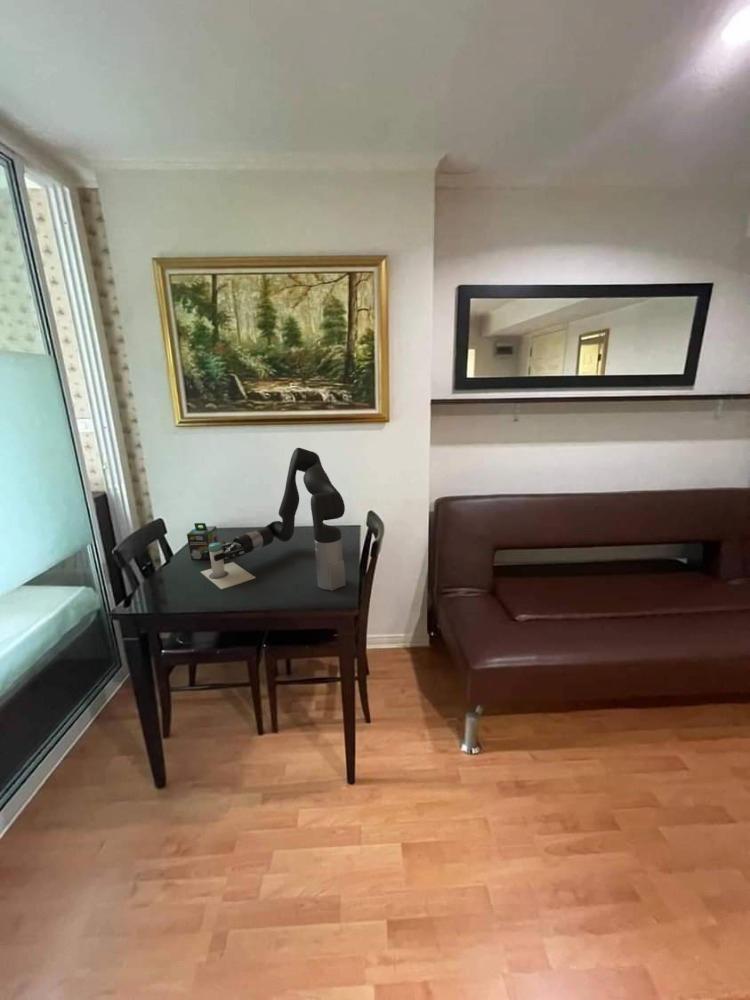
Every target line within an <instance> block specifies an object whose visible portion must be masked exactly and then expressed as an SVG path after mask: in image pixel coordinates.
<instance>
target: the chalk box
mask: <svg viewBox="0 0 750 1000" xmlns="http://www.w3.org/2000/svg"><path fill="white" fill-rule="evenodd" d="M186 536H187V537H186V538H187V544H188V549H189V555H190V559H191V560H211V559H210V556H209V557H205V554H204V552H205V551H208V550H209V545H210V544H212V543H220V541H219V535H218V529H217V526H215V525H214V526H213V525H211V526H207V524H206V523H205V522H194V529H191V530H190V531H189V532H188V533H187V534H186Z"/></svg>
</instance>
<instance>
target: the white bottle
mask: <svg viewBox="0 0 750 1000" xmlns="http://www.w3.org/2000/svg"><path fill="white" fill-rule="evenodd" d="M209 551H210V559H209V560H210V565H211V568H212V573H213V576H214V577H221V576H223V575H225V568H224V565H225V561H224V559H221V560H219V561H215V560H214V555H217V554H220V553H222V551H223V549H222V546H221V542H219V543H212V544H210V545H209Z"/></svg>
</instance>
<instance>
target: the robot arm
mask: <svg viewBox="0 0 750 1000" xmlns="http://www.w3.org/2000/svg"><path fill="white" fill-rule="evenodd" d="M289 461H290V462H289V466H288V470H287V477H286V481H285V489H284V493H283V496H282V500H281V503H280V506H279V509H278V515H279V517H280V518H281V521H280V520H275V521H272V522H270V523H269V524H267V525H266V526H264V527H263V528H261V529H258V530H255V531H250V532H247V533H244V534H240V535H238V536H235V537H234V539H232V540H233V541H232V542H227V543H226V541H221V542H220V543H221V546H222V553H220V554H217V555H214V560H215V561H219V560H221V559H223V560H224V559H229V560H233V559H236V558H239V557H240V558H241V557H243V556H245V555H247V554H250V553H252V552H254V551H257V550H259V549H261V548H263V547H267V546H269V545H270V544H272V543H273V541H274V538H275V539H278V540H279V541H281V542H282V543H283V542H284V543H286V542H289V541H290V540H291V539H292V537H293V536H294V531H295V520H296V519H295V518H296V514H297V511H298V508H299V504H300V494H299V490H298V485H297V481H296V478H297V477H296V476H297V472H298V471H299V472H302V473H304V474H303V477H302V478H303V480H302V481H303V483H304V486H305V488H306V490H307V492H308V493H309V494H311V498H310V510H311V517H312V524H313V525H312V526H313V539H314V553H315V564H316V565H315V567H316V577H317V578H316V579H317V586H318V588H319V589H321V590H325V591H326V590H328V591H331V592H333V591H335V590H337V589H340V588H342V587H345V586H346V571H345V569H346V568H345V561H344V559H343V543H342V542H343V541H342V532H341V529H340V528H338V527H336V526H332V525H329V524H325V523H324V521H330V520H335V519H338V520H339V519H340V518H342V517H343V516H344V514H345V512H346V507H345V502H344V498H343V497H342V495H341V493H340V492H339V491H338V490H337V488H336V487H335V486H334V485H333V484H332V481H331V480H330V478H329V476H328V474H327V471H325V470H324V467H323V465H322V461H321V458H320V456H319V455H318V453H316V452H314V451H311V450H308V449H305V448H301V447H296V448H295V449H294V451H292V455H291V457H290V460H289ZM204 554H205V557H209V556H210V551H209V550H208V551H205V552H204Z"/></svg>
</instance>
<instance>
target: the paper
mask: <svg viewBox="0 0 750 1000" xmlns="http://www.w3.org/2000/svg"><path fill="white" fill-rule="evenodd" d="M224 568H225V575H223V576H221V577H214V576H213V573H212V567H211V568H209V569H205V570H202V571H200V574H202V575H203V576H204V577H205V578H206V579H208V580H209V581H210V582H212V583H213V584H214V585H215V586H216V587H217V588H219V589H220V590H224V589H225V590H226V589H228V588H230V587H234V586H236V585H240V584H243V583H245V582H248V581H250V580H251V581H252V580H254V579H256V576H254V575H253V574H251V572H250V573H249V572H248V571H247V570H245V569H244V568H242V567H241V566H239V565H238V564H236V562H234V561H231V562H228V563H224Z"/></svg>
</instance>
